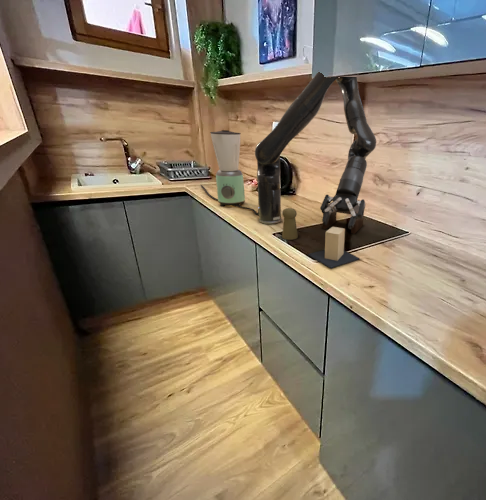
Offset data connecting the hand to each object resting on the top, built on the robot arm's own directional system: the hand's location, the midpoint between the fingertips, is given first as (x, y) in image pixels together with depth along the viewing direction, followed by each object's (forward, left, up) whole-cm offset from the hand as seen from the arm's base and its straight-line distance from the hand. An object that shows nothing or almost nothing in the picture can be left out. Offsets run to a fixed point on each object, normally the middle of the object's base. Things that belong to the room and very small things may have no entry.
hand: (336, 226), depth 97 cm
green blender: (-80, -3, -10) cm, 80 cm away
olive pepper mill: (-23, -4, -10) cm, 25 cm away
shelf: (-21, +21, -10) cm, 32 cm away
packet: (+1, -2, -10) cm, 10 cm away
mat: (+1, -2, -10) cm, 11 cm away
